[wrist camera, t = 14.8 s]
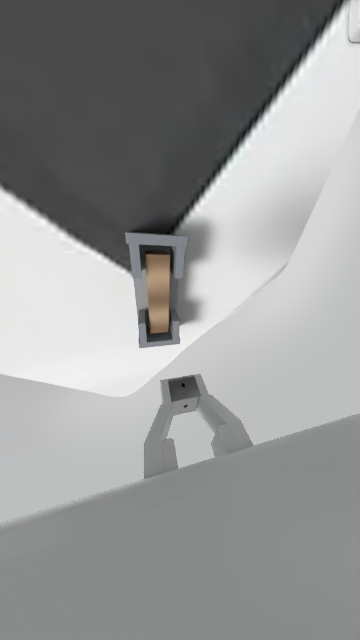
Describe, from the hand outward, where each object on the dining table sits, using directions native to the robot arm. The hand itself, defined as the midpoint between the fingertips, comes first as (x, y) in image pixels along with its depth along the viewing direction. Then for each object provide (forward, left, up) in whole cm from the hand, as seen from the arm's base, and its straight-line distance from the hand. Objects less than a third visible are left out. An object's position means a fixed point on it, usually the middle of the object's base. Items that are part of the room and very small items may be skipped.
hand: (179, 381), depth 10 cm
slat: (0, +1, -20) cm, 20 cm away
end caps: (0, +1, -21) cm, 21 cm away
